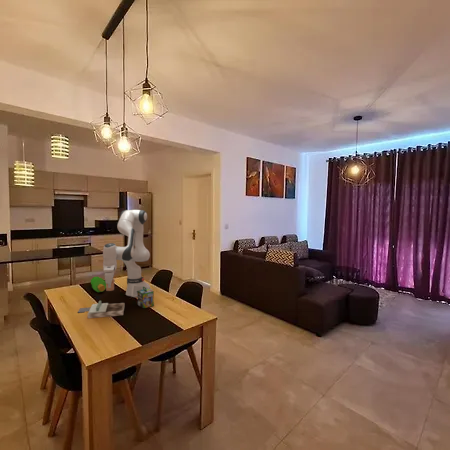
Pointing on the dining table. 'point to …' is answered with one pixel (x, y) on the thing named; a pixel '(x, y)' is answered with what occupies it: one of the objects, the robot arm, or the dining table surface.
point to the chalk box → (145, 298)
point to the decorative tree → (98, 284)
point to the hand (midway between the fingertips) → (110, 285)
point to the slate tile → (83, 310)
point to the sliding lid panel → (98, 307)
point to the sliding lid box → (109, 311)
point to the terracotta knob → (111, 286)
